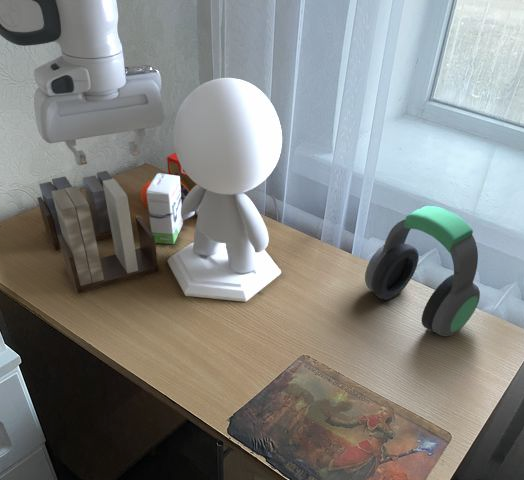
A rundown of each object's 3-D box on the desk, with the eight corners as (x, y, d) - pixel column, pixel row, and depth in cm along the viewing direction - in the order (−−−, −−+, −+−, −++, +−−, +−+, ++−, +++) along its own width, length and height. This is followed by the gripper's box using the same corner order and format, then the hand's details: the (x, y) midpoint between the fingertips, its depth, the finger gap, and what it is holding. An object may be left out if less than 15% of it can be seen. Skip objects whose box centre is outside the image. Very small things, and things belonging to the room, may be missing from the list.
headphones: (355, 296, 103) (375, 201, 89) (392, 276, 108) (416, 183, 94) (436, 350, 93) (472, 253, 79) (472, 325, 98) (512, 229, 84)
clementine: (141, 201, 126) (137, 172, 121) (170, 198, 127) (168, 170, 122) (144, 218, 120) (140, 189, 115) (175, 215, 122) (172, 186, 117)
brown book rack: (77, 293, 100) (57, 211, 88) (66, 270, 105) (45, 190, 93) (158, 271, 106) (149, 191, 94) (144, 250, 111) (133, 173, 99)
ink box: (174, 245, 113) (169, 193, 105) (151, 242, 113) (145, 191, 105) (183, 224, 119) (180, 174, 111) (162, 222, 119) (157, 172, 111)
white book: (127, 273, 103) (114, 197, 92) (115, 255, 108) (102, 180, 97) (138, 270, 104) (127, 195, 93) (126, 252, 109) (114, 178, 97)
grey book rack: (55, 250, 110) (42, 199, 102) (46, 231, 115) (32, 181, 107) (130, 232, 116) (123, 182, 108) (118, 215, 121) (110, 166, 113)
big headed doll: (296, 261, 110) (315, 80, 86) (226, 317, 97) (225, 121, 72) (221, 228, 118) (219, 54, 94) (147, 275, 105) (122, 86, 80)
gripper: (152, 57, 87) (159, 141, 97) (22, 71, 80) (44, 161, 89) (167, 69, 84) (173, 155, 93) (32, 85, 76) (53, 177, 85)
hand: (109, 158), depth 91 cm, fingers open, 8 cm apart
